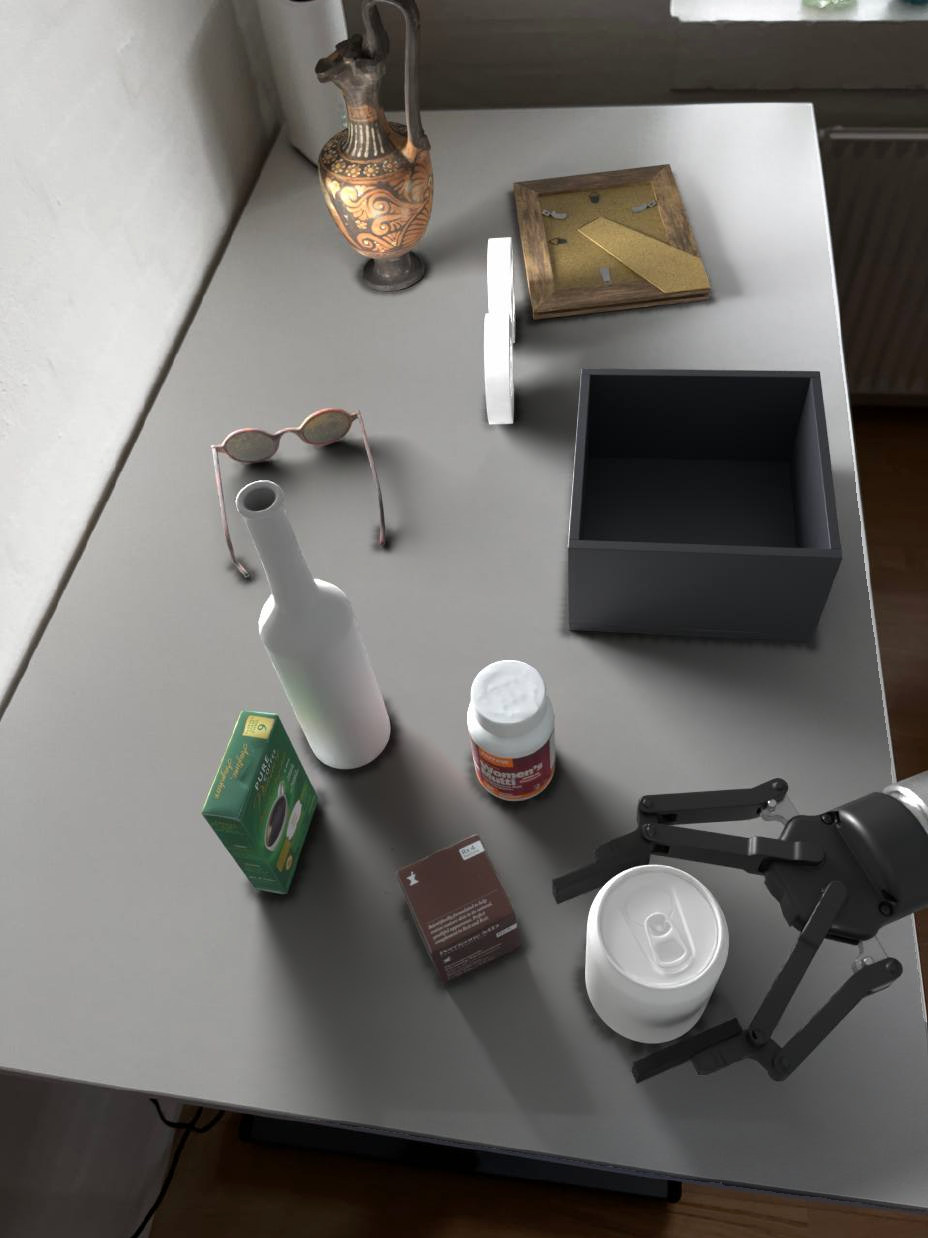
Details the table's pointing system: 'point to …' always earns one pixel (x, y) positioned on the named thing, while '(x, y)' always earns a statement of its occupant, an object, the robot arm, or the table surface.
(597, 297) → the picture frame
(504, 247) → the letter
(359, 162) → the vase
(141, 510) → the table surface
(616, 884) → the beverage can
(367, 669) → the bottle
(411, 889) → the box
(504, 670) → the pill bottle
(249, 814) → the coffee box
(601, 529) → the storage bin
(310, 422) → the eyeglasses
